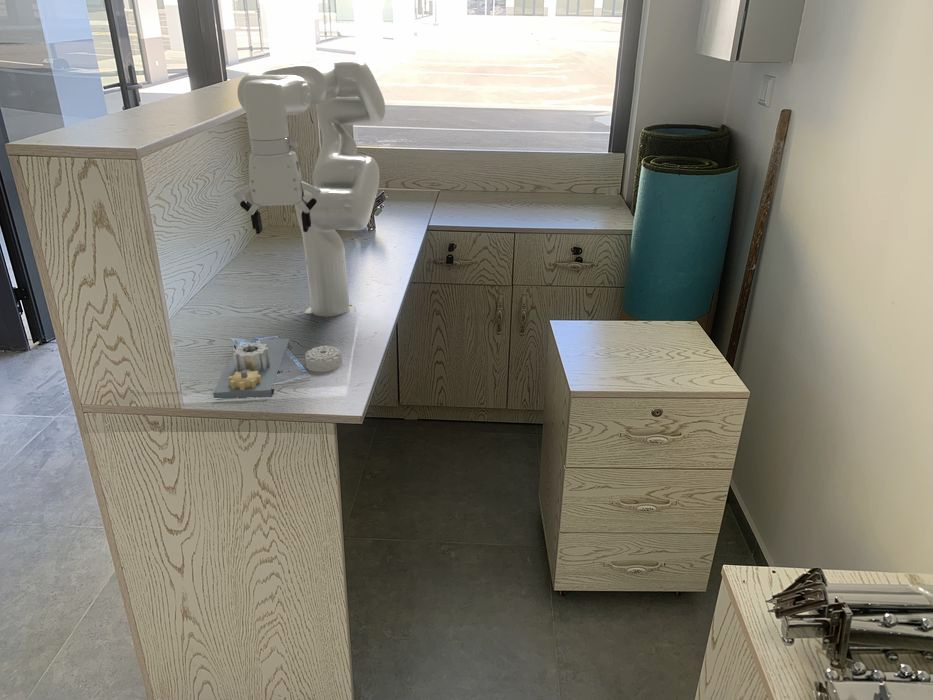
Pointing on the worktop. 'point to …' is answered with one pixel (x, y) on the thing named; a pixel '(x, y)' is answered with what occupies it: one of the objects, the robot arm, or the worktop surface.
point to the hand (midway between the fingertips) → (283, 231)
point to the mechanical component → (323, 358)
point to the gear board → (265, 375)
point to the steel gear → (251, 357)
